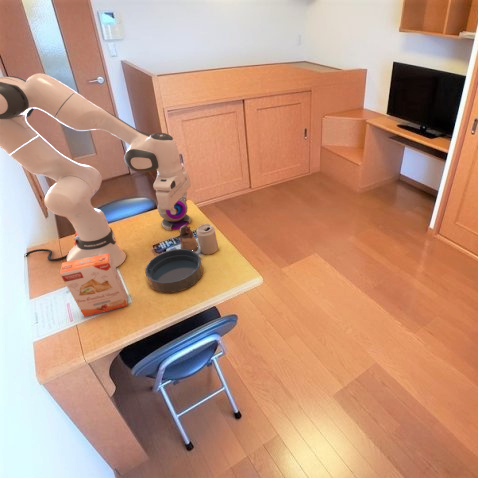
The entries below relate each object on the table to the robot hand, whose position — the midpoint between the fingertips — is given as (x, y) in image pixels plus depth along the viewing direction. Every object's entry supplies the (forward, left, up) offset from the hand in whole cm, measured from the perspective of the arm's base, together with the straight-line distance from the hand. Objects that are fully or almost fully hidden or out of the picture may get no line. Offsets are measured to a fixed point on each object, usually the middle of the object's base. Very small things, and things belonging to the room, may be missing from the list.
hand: (179, 207), depth 142 cm
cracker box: (-30, -26, -21) cm, 45 cm away
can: (+8, -4, -21) cm, 23 cm away
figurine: (0, 0, -21) cm, 21 cm away
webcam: (-5, +23, -21) cm, 32 cm away
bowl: (-6, -16, -21) cm, 27 cm away
